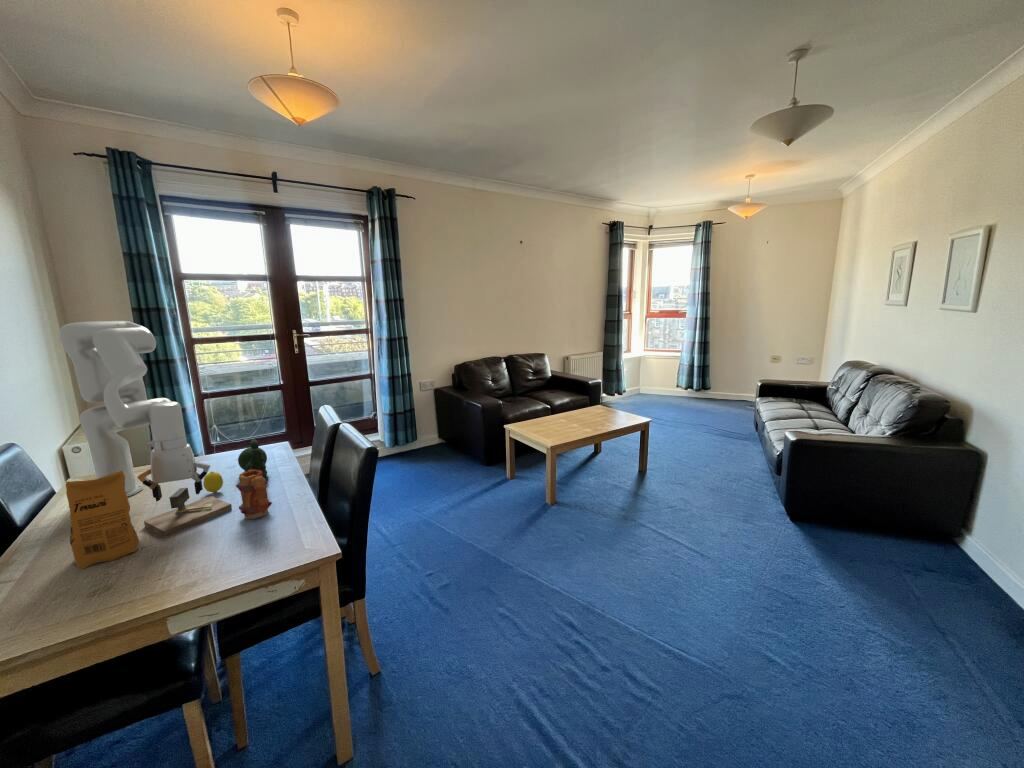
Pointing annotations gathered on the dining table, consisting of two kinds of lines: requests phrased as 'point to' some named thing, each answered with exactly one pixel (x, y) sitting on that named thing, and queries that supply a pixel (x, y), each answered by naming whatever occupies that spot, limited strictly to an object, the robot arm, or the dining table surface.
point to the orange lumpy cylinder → (253, 494)
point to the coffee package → (100, 520)
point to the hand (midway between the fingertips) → (179, 495)
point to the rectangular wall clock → (186, 516)
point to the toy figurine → (253, 458)
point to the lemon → (213, 482)
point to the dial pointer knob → (183, 501)
